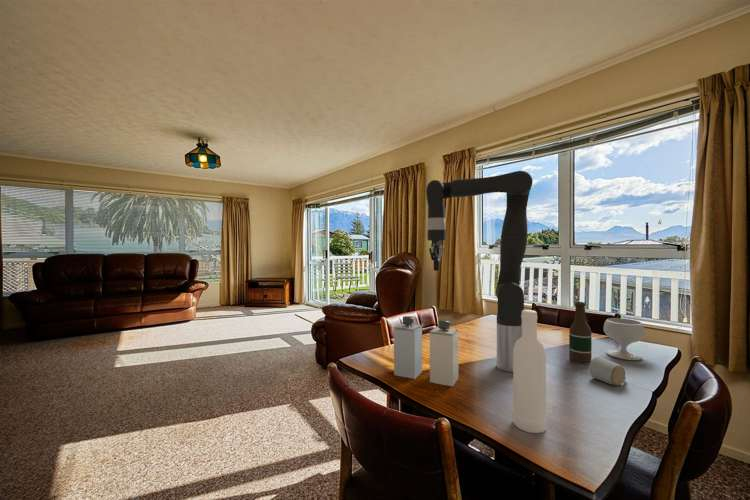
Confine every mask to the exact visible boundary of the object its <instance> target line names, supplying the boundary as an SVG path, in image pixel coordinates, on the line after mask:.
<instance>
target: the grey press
mask: <svg viewBox="0 0 750 500" xmlns="http://www.w3.org/2000/svg"><path fill="white" fill-rule="evenodd" d="M422 372H423V325H422V324H417V323H416V324H415V323H414V324H413V325H410V327H407V325H404V324H403V322H401V323H399V324H397V325H396V326H394V327H393V375H394V376H398V377H401V378H409V379H413V380H415V379H416V378H418V376H420V374H421V373H422Z"/></svg>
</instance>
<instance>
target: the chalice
mask: <svg viewBox="0 0 750 500" xmlns="http://www.w3.org/2000/svg"><path fill="white" fill-rule="evenodd" d="M603 333H605V335H606V336H607V337H609V338H610V339H611V340H613V341H615V342H617V343H618V345H620V349H619V350H615V349H610V350H607V351H605V353H606V355H608V356H610V357H612V358H616V359H621V360H625V361H641V360H642V359H643V357H642V356H641V355H639V354H636V353H634V352H629V351H628V349H627V347H628V346H629V345H631V344H633V343H637V342H641V341H642V340H644V338H645V337H646V330H645V327H644V325H643V323H642V322H641V321H639V320H636V319H635V320H634V319H630V318H622V317H620V318H619V317H608V318H607V319H606V320H605V321H604V324H603ZM633 354H635V355H636V356H635V357H633V356H634V355H633ZM631 356H632V357H631Z"/></svg>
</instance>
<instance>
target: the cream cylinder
mask: <svg viewBox="0 0 750 500" xmlns="http://www.w3.org/2000/svg"><path fill="white" fill-rule="evenodd" d="M588 372H589V375H590V377H592V378H594V379H597V380H598V381H601V382H604V383H606V384H608V385H612V386H616V387H617V386H620V385H622V384H623V383H624V382H625V381H626V380H627V379H626V378H627V377H626V370H625V368H624V367H623V366H622V365H620V364H618V363H616V362H614V361H611V360H608V359H606V358H604V357H601V356H595V357H593V358H591V362H590V364H589V366H588Z"/></svg>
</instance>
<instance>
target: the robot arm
mask: <svg viewBox="0 0 750 500" xmlns="http://www.w3.org/2000/svg"><path fill="white" fill-rule="evenodd" d="M532 187H533V177H532V175H531V174H530V173H529V172H527V171H526V170H525V171H524V170H517V171H511V172H509V173H504V174H499V175H494V176H487V177H486V176H485V177H476V178H475V177H474V178H462V179H460V178H459V179H454V180H452V181H448V182H447V181H446V182H442V181H440V180H438V179H433V180H430V181H429V182H428V184H427V185H426V192H425V193H426V194H425V195H426V201H427V202H426V203H427V231H426V232H427V241H431V245H430V248H429V249H428V251H429V255H430V258H431V260H432V262H433V271H436V272H437V271H440V270H441V269H440V266H441V265H440V264H441V263H440V262H441V260H443V259H442V257H443V255H444V254H443V253H444V247H443V245H442V241H446V239H447V237H446V235H447V233H446V232H447V231H446V223H447V222H446V207H445V204H444V200H445V199H450V198H464V197H465V198H466V197H475V196H480V195H486V194H493V193H504V194H505V193H506V210H505V215H504V218H503V221H502V226H501V227H502V228H501V234H500V249H499V251H500V252H499V256H500V257H499V262H500V264H499V272H498V277H497V278H498V279H497V284H496V288H495V295H496V296H495V297H496V298H497V313H496V368H497V369H499V370H500V371H504V372H507V373H513V349H514V345H515V343H516V341H517V340H518V339H519V338H521V337H522V318H521V315H522V311H523V310H525V293H524V290H523V289H522V287H521V286H520V272H521V267H522V266H521V265H522V263H523V261H524V260H523V259H524V257H525V253H526V249H527V241H528V216H527V207H528V203H529V202H528V201H529V196H530V194H531V193H530V192H531V190H532Z"/></svg>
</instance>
